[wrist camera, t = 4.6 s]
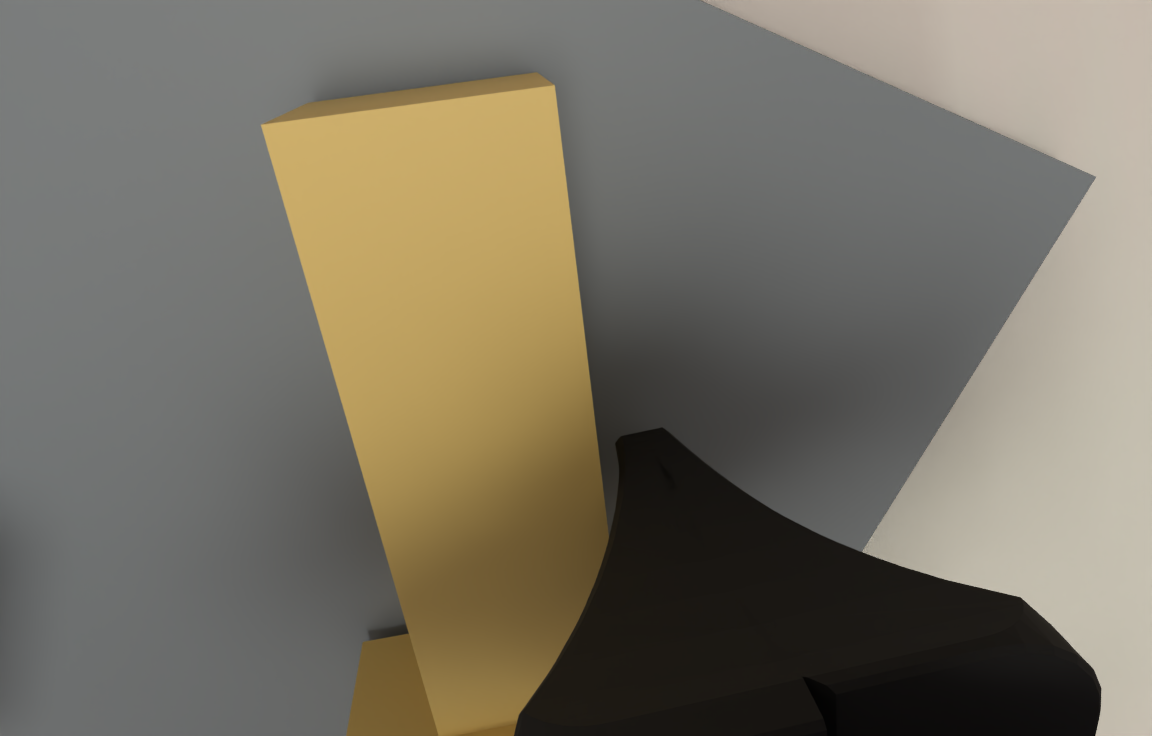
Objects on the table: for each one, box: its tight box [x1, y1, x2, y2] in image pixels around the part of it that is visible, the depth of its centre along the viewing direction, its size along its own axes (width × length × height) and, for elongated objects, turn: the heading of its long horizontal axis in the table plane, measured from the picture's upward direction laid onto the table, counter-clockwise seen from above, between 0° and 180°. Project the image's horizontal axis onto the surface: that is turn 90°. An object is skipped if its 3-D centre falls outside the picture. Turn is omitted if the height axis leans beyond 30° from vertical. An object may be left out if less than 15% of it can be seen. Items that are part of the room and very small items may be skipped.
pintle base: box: [0, 0, 1096, 736], centre depth 11 cm, size 19×22×5 cm
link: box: [261, 72, 609, 736], centre depth 12 cm, size 16×6×3 cm, turn 6°
